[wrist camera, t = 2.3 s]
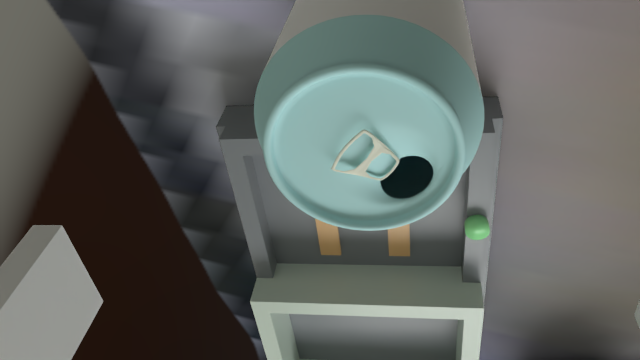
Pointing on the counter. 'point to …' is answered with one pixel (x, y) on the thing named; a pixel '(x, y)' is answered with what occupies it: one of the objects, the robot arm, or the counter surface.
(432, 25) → the can
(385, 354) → the grey tray
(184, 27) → the counter surface
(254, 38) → the counter surface
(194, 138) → the counter surface
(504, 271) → the counter surface
